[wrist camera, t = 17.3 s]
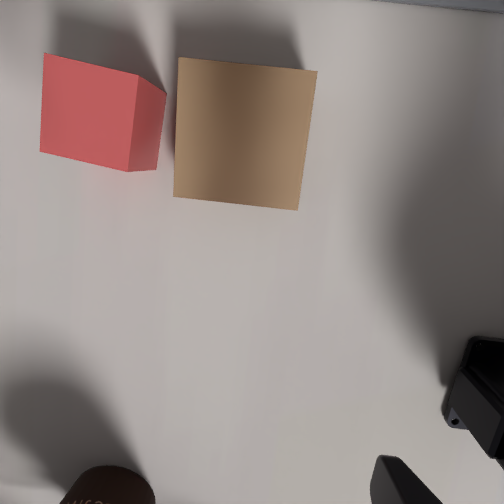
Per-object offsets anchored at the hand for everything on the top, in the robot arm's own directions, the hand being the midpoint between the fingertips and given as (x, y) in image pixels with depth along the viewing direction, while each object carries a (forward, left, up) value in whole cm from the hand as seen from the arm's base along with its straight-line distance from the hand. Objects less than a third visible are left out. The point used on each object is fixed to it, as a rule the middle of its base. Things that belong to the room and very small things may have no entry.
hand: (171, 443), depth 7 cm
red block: (+5, -7, -11) cm, 14 cm away
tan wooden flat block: (0, -7, -13) cm, 15 cm away
